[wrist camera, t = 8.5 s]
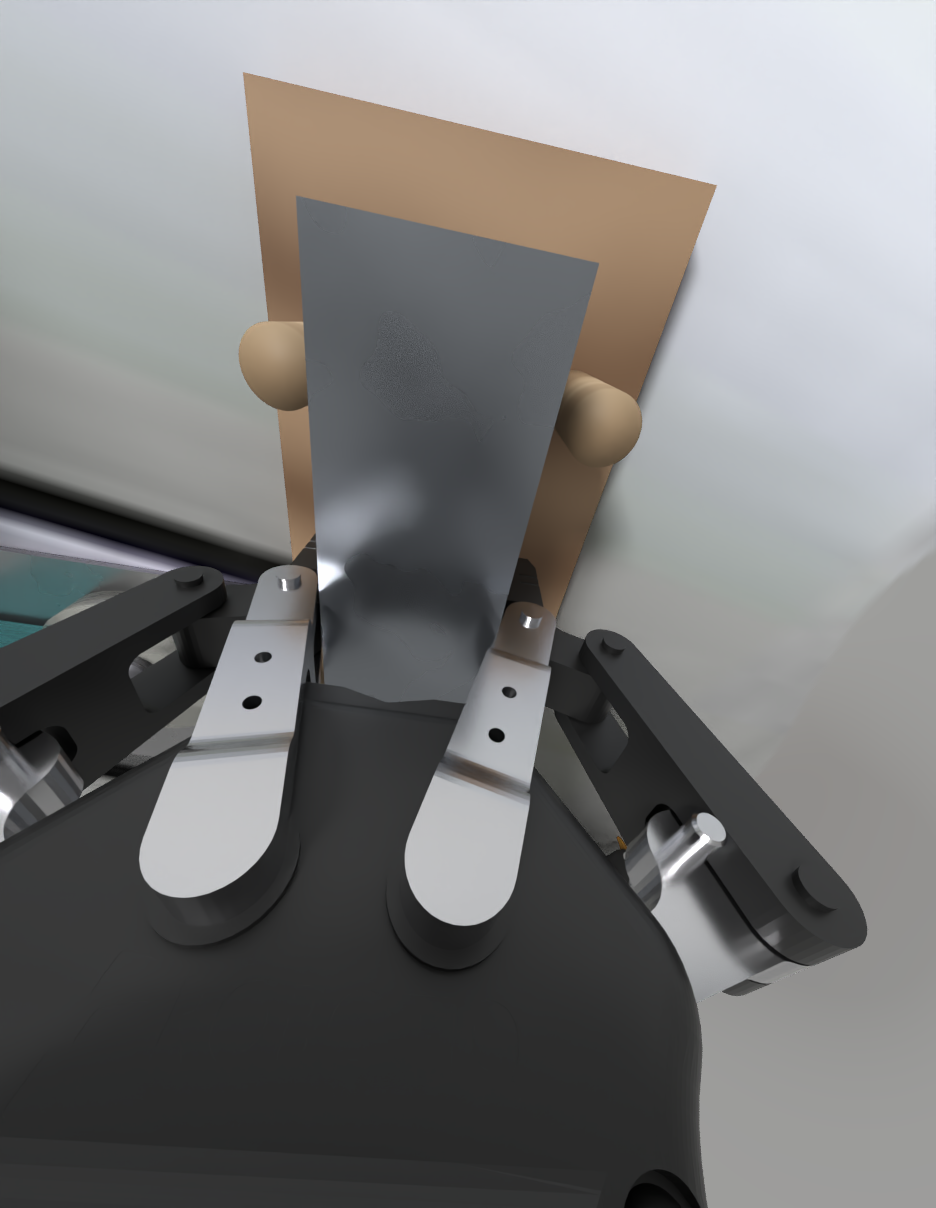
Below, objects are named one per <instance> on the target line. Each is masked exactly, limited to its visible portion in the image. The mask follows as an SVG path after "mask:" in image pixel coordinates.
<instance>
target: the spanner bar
mask: <svg viewBox="0 0 936 1208" xmlns="http://www.w3.org/2000/svg"><path fill="white" fill-rule="evenodd" d="M296 208H297V225H298V242H299V259H300V276H301V293H302V310H303V327H304V344H305V361H306V378H307V395H308V412H309V429H310V446H311V463H312V480H313V497H314V514H315V531H316V548H317V565H318V582H319V599H320V616H321V633H322V650H323V667H324V684H326V685H334V686H341V687H346V688H348V689H351V690H354V691H357V692H359V693H362V694H365V695H368V696H370V697H373V698H376V699H378V700H381V701H384V702H404V701H419V700H433V699H434V700H442V701H449V702H456V703H463V704H465V703H466V701H467V698H468V696H469V693H470V691H471V688H472V686H473V684H474V681H475V679H476V676H477V674H478V671H479V669H480V666H481V664H482V662H483V659H484V657H485V654H486V652H487V649H488V647H489V646H490V647H491V646H492V643H493V641H494V638H495V636H496V633H497V631H498V628H499V626H500V623H501V619H502V616H503V612H504V608H505V605H506V601H507V597H508V594H509V590H510V586H511V583H512V579H513V576H514V572H515V568H516V565H517V561H518V557H519V554H520V550H521V546H522V543H523V539H524V536H525V532H526V528H527V525H528V521H529V517H530V514H531V510H532V506H533V503H534V499H535V496H536V492H537V488H538V485H539V481H540V477H541V474H542V470H543V466H544V463H545V459H546V456H547V452H548V448H549V445H550V441H551V437H552V434H553V430H554V426H555V423H556V419H557V416H558V412H559V408H560V405H561V401H562V397H563V394H564V390H565V386H566V383H567V379H568V376H569V372H570V368H571V365H572V361H573V357H574V354H575V350H576V346H577V343H578V339H579V336H580V332H581V328H582V325H583V321H584V317H585V314H586V310H587V307H588V303H589V299H590V296H591V292H592V288H593V285H594V281H595V277H596V274H597V270H598V267H599V263H597V262H592V261H588V260H583V259H579V258H574V257H570V256H565V255H561V254H556V253H552V252H547V251H543V250H538V249H534V248H529V247H525V246H520V245H516V244H511V243H507V242H503V241H498V240H494V239H489V238H485V237H480V236H476V235H471V234H467V233H462V232H458V231H453V230H449V229H444V228H440V227H435V226H431V225H426V224H422V223H417V222H413V221H408V220H404V219H399V218H395V217H390V216H386V215H381V214H377V213H372V212H368V211H363V210H359V209H354V208H350V207H345V206H341V205H337V204H332V203H328V202H323V201H319V200H314V199H310V198H305V197H301V196H296Z"/></svg>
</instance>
